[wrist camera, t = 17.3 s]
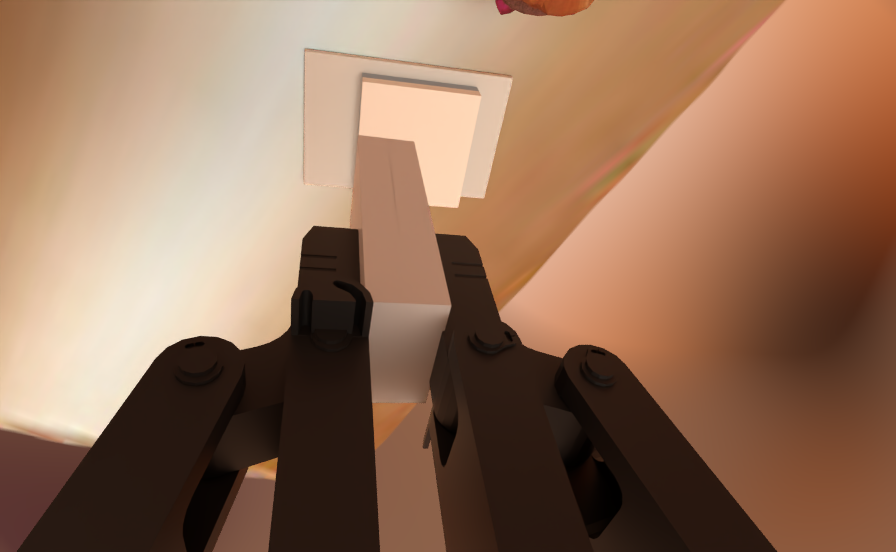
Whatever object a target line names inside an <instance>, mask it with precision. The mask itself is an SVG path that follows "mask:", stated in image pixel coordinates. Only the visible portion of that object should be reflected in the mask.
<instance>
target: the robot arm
mask: <svg viewBox="0 0 896 552" xmlns="http://www.w3.org/2000/svg"><path fill="white" fill-rule="evenodd" d="M482 265H483V263H482V260H481V257H480V254H479V251H478V249H477V248H476V247H475V246H474V245H473V243H472V242H471V241H470V240H469V239H468V238H467V237H466V236H460V235H447V234H435V231H434V227H433V222H432V218H431V213H430V209H429V205H428V200H427V196H426V191H425V187H424V183H423V178H422V174H421V169H420V165H419V161H418V156H417V152H416V147H415V143H414V141H406V140H397V139H389V138H380V137H372V136H363V135H358V142H357V152H356V163H355V173H354V184H353V194H352V205H351V216H350V229H348V228H334V227H321V226H313V227H312V228H311V230H310V231H309V232H308V233H307V234H306V235H305V237H304V238H303V240H302V250H301V260H300V270H299V279H298V287H297V288H296V289H295V291H294V294H293V296H292V298H291V326H290V328H289V329H288V331H286V332H285V333H284V334H283V335H282V336H281V337H279V338H277V339H276V340H274V341H272V342H270V343H267V344H264V345H261V346H257V347H253V348H248V349H244V350H239V349H238V348H237V347H236V346H235V345H234V344H233V343H232V342H229V341H227V340H224V339H221V338H219V337H208V336H198V337H193V338H188V339H184V340H181V341H179V342H177V343H175V344H173V345H171V346H169V347H167V348H166V349H165V350H164V351H163V352H162V353H161V354H160V355H159V356H158V357H157V358H156V359H155V360H154V361H153V363H152V364H151V366H150V367H149V368H148V370H147V371H146V373H145V374H144V375H143V377H142V378H141V379H140V381H139V382H138V384H137V385H136V386H135V388H134V389H133V391H132V392H131V393H130V395H129V396H128V398H127V399H126V400H125V402H124V403H123V404H122V406H121V407H120V409H119V410H118V411H117V413H116V414H115V416H114V417H113V418H112V420H111V421H110V423H109V424H108V425H107V427H106V428H105V430H104V431H103V432H102V434H101V435H100V436H99V438H98V439H97V441H96V442H95V443H94V445H93V446H92V448H91V449H90V450H89V452H88V453H87V455H86V456H85V457H84V459H83V460H82V462H81V463H80V464H79V466H78V467H77V468H76V470H75V471H74V473H73V474H72V476H71V477H70V478H69V480H68V481H67V482H66V484H65V485H64V487H63V488H62V489H61V491H60V492H59V493H58V495H57V497H56V498H55V499H54V501H53V502H52V503H51V505H50V506H49V508H48V509H47V510H46V512H45V513H44V514H43V516H42V517H41V519H40V520H39V521H38V523H37V524H36V526H35V527H34V528H33V530H32V531H31V532H30V534H29V535H28V537H27V538H26V539H25V541H24V542H23V544H22V545H21V546H20V548H19V549H18V550H17V552H212V551H213V549H214V547H215V544H216V542H217V540H218V537H219V535H220V533H221V530H222V528H223V526H224V523H225V521H226V519H227V516H228V514H229V512H230V509H231V507H232V505H233V502H234V500H235V498H236V495H237V493H238V491H239V489H240V486H241V484H242V482H243V479H244V477H245V475H246V472H247V470H248V467H249V466H252V465H255V464H258V463H261V462H265V461H268V460H271V459H274V458H277V457H278V463H277V472H276V482H275V492H274V502H273V511H272V521H271V530H270V540H269V551H268V552H380V545H379V524H378V505H377V488H376V467H375V447H374V428H373V409H372V403H426V400H427V396H428V392H429V389H430V390H431V396H432V402H433V407H432V410H431V414H430V417H429V421H428V425H427V429H426V432H425V435H424V440H423V448H428V446H429V443H430V440H431V445H432V451H433V459H434V466H435V473H436V480H437V487H438V495H439V501H440V509H441V516H442V523H443V530H444V538H445V544H446V552H777V551H776V550H775V548H774V547H773V546H772V545H771V543H770V542H769V541H768V540H767V539H766V537H765V536H764V535H763V533H762V532H761V531H760V530H759V529H758V527H757V526H756V525H755V524H754V522H753V521H752V520H751V519H750V517H749V516H748V515H747V514H746V513H745V511H744V510H743V509H742V508H741V506H740V505H739V504H738V503H737V502H736V500H735V499H734V498H733V496H732V495H731V494H730V493H729V492H728V490H727V489H726V488H725V487H724V485H723V484H722V483H721V482H720V481H719V479H718V478H717V477H716V475H715V474H714V473H713V472H712V471H711V469H710V468H709V467H708V466H707V464H706V463H705V462H704V461H703V459H702V458H701V457H700V456H699V454H697V452H696V451H695V450H694V448H693V447H692V446H691V445H690V443H689V442H688V441H687V440H686V438H685V437H684V436H683V435H682V434H681V432H680V431H679V430H678V429H677V427H676V426H675V425H674V424H673V422H672V421H671V420H670V419H669V417H668V416H667V415H666V414H665V413H664V411H663V410H662V409H661V408H660V406H659V405H658V404H657V403H656V401H655V400H654V399H653V398H652V396H651V395H650V394H649V393H648V392H647V390H646V389H645V388H644V387H643V385H642V384H641V383H640V382H639V380H638V379H637V378H636V377H635V376H634V374H633V373H632V372H631V371H630V369H628V367H627V366H626V365H625V364H624V363H623V362H622V361H621V360H620V359H619V358H618V357H617V356H616V355H614V354H612V353H610V352H609V351H607V350H605V349H603V348H600V347H596V346H593V345H578V346H575V347H573V348H570V349H569V350H568V351H567V353H566V354H565V356H564V357H563V358H559V357H556V356H552V355H549V354H545V353H542V352H538V351H535V350H533V349H530V348H527V347H526V346H524V345H522V342H521V340H520V338H519V337H518V335H517V333H516V332H515V331H514V330H513V329H512V328H511V327H509V326H508V325H507V324H506V323H504V322H501V320H500V316H499V313H498V310H497V307H496V304H495V301H494V298H493V294H492V291H491V288H490V285H489V282H488V279H486V273H485V270H484V267H482Z"/></svg>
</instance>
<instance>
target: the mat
mask: <svg viewBox="0 0 896 552" xmlns="http://www.w3.org/2000/svg"><path fill="white" fill-rule="evenodd" d="M362 73H370V74H378V75H386V76H394V77H402V78H410V79H418V80H426V81H434V82H442V83H450V84H458V85H466V86H474V87H477V88H478V90H479V92H480V94H481V101H480V105H479V110H478V115H477V120H476V125H475V129H474V134H473V139H472V144H471V148H470V153H469V158H468V163H467V167H466V172H465V177H464V182H463V186H462V191H461V196H460V197H473V198H484V196H485V192H486V188H487V183H488V179H489V175H490V171H491V167H492V163H493V159H494V155H495V150H496V146H497V142H498V138H499V134H500V130H501V126H502V122H503V117H504V113H505V109H506V105H507V101H508V97H509V93H510V89H511V84H512V80H513V78H512V76H509V75H501V74H494V73H486V72H478V71H471V70H463V69H456V68H448V67H441V66H433V65H425V64H418V63H410V62H403V61H395V60H387V59H380V58H372V57H365V56H357V55H350V54H342V53H334V52H327V51H319V50H312V49H305V111H304V184H307V185H320V186H332V187H345V188H353V184H354V173H355V163H356V152H357V141H358V127H359V112H360V98H361V84H362Z"/></svg>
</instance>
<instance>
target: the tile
mask: <svg viewBox="0 0 896 552" xmlns="http://www.w3.org/2000/svg"><path fill="white" fill-rule="evenodd" d="M480 101H481V94H480V92H479V90H478V88H477V87H474V86H466V85H458V84H450V83H442V82H434V81H426V80H418V79H410V78H402V77H394V76H386V75H378V74H370V73H362V84H361V98H360V112H359V127H358V135H363V136H372V137H380V138H389V139H397V140H406V141H414V143H415V147H416V152H417V156H418V161H419V165H420V169H421V174H422V178H423V183H424V187H425V191H426V196H427V200H428V205H429V206H440V207H454V208H458V205H459V201H460V196H461V191H462V186H463V182H464V177H465V172H466V167H467V163H468V158H469V153H470V148H471V144H472V139H473V134H474V129H475V125H476V120H477V115H478V110H479V105H480ZM357 142H358V141H357Z"/></svg>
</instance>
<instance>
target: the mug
mask: <svg viewBox="0 0 896 552" xmlns="http://www.w3.org/2000/svg"><path fill="white" fill-rule="evenodd" d="M593 1H594V0H496V1H495V2H496V6H497V8H498V10H499V12H500V14H501V15H503V14H508V13H511V12H513V11H514V10H517V11H519V12H521V13H523V14H529V15H535V16H544V15H552V16H566V15H573V14H575V13H577V12H580V11H582V10H585V9H587V8H588V7H589V6H590V5H591V3H592V2H593Z"/></svg>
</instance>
